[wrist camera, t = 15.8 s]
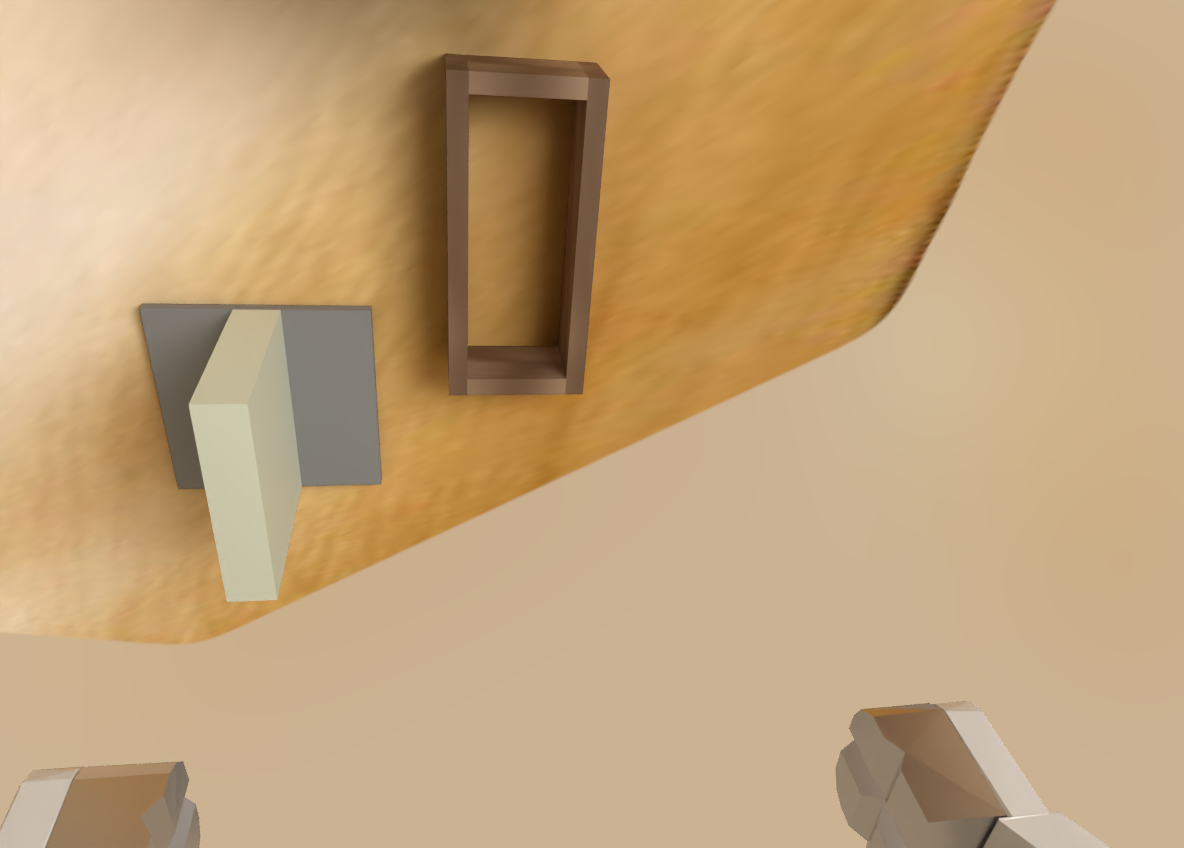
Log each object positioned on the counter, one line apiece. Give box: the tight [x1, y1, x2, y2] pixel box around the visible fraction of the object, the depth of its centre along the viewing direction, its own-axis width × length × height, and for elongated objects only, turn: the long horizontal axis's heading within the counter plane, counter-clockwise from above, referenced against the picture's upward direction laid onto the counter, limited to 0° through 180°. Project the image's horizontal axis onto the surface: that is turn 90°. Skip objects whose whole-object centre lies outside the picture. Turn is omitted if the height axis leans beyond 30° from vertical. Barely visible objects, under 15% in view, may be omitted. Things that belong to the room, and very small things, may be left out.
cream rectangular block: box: [189, 309, 302, 602], centre depth 46 cm, size 2×12×10 cm, turn 175°
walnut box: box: [446, 54, 610, 395], centre depth 46 cm, size 8×17×4 cm, turn 175°
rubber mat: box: [139, 304, 382, 489], centre depth 50 cm, size 12×12×1 cm
